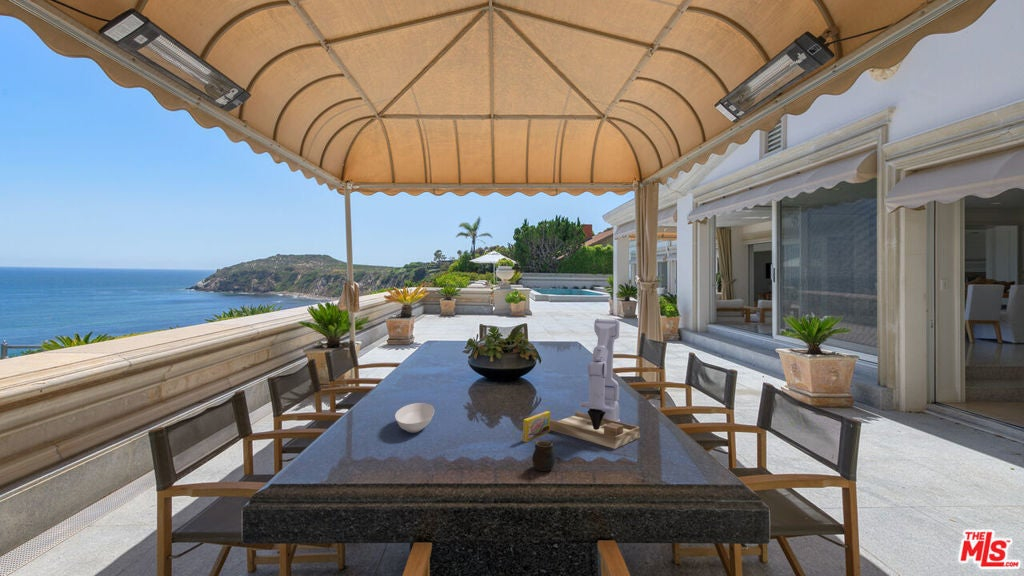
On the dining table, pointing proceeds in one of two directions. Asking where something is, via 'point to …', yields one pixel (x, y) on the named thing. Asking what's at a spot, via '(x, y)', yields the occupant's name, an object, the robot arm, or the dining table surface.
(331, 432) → the dining table surface
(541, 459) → the mate gourd
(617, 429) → the block
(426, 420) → the bowl
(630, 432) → the box
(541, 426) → the candy box
